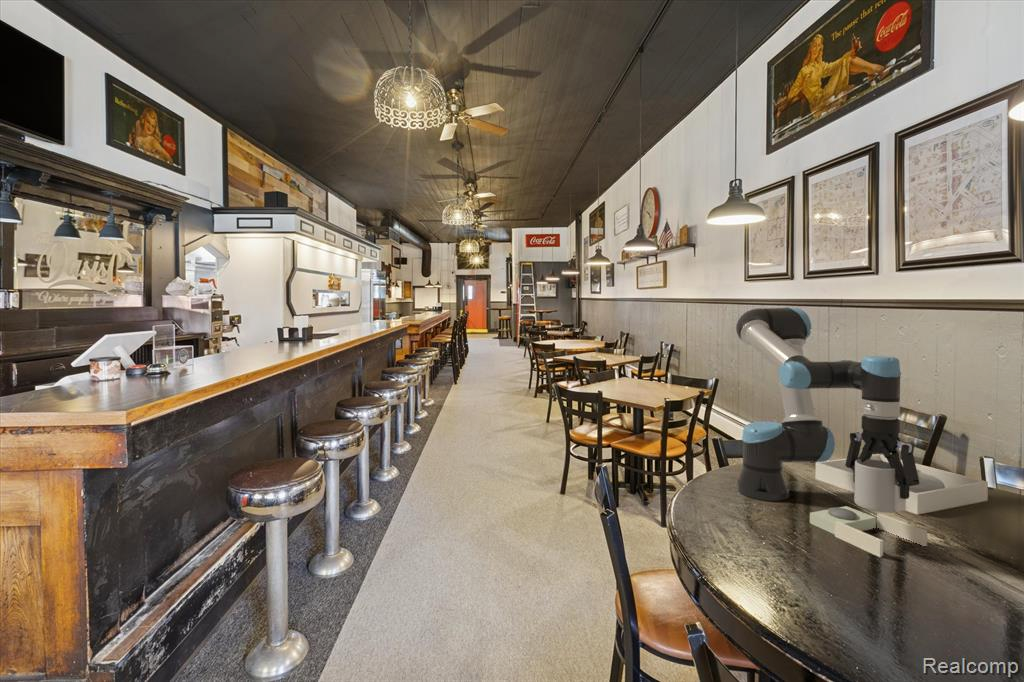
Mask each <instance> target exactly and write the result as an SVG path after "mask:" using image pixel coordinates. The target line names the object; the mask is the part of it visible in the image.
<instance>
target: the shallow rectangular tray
mask: <svg viewBox="0 0 1024 682" xmlns="http://www.w3.org/2000/svg"><path fill="white" fill-rule="evenodd" d="M858 458H859V456H858ZM870 459H871V460H879V461H884V462H888V460H887V458H885V457H884V454H881V453H875V454H874V453H873V454H872V456H871V458H870ZM846 460H847V457H846V458H841V459H833V460H827V461H825V462H816V463H815V478H814V479H815V480H817V481H820V482H823V483H825V484H829V485H832V486H834V487H836V488H840V489H843V490H845V489H846V491H848V490H849V491H848V492H852V493H854V494H855V483H854V481H853V470H852V469H850V468H847V467H846V466H845V464H846ZM900 461H901V463H902V459H900ZM888 463H889V462H888ZM902 465H903V463H902ZM915 465H916V469H918V470H920V471H921V472H922V473H925V474H928V475H931V476H933V477H936V478H937V479H939V480H941V481H942V482H943V483H944V486H945V488H943V489H937V490H932V491H926V492H921V493H914V492H911V491H909V498H908V499H906V510H904V511H905V512H908V513H911V514H914V515H922V514H927V513H932V512H938V511H942V510H948V509H953V508H957V507H962V506H968V505H973V504H978V503H982V502H988V495H989V494H988V492H989V489H988V488H989V482H988V480H987V481H986V480H983V479H980V478H974V477H970V476H966V475H963V474H958V473H954V472H951V471H948V470H943V469H939V468H935V467H931V466H927V465H923V464H920V463H916V462H915Z"/></svg>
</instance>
